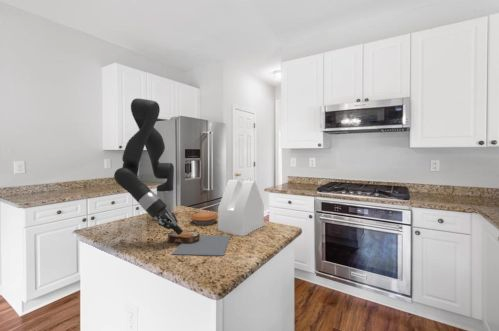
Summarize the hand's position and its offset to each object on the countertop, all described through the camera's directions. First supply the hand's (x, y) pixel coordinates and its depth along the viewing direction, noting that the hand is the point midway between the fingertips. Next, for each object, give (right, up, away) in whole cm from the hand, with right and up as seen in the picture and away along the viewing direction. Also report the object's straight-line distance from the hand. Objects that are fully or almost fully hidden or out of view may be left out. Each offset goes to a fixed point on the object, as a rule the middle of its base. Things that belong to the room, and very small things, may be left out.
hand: (181, 233), depth 104 cm
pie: (+4, -4, +34) cm, 35 cm away
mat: (+10, -5, 0) cm, 11 cm away
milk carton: (+25, -4, +23) cm, 34 cm away
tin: (-2, -3, +1) cm, 4 cm away
